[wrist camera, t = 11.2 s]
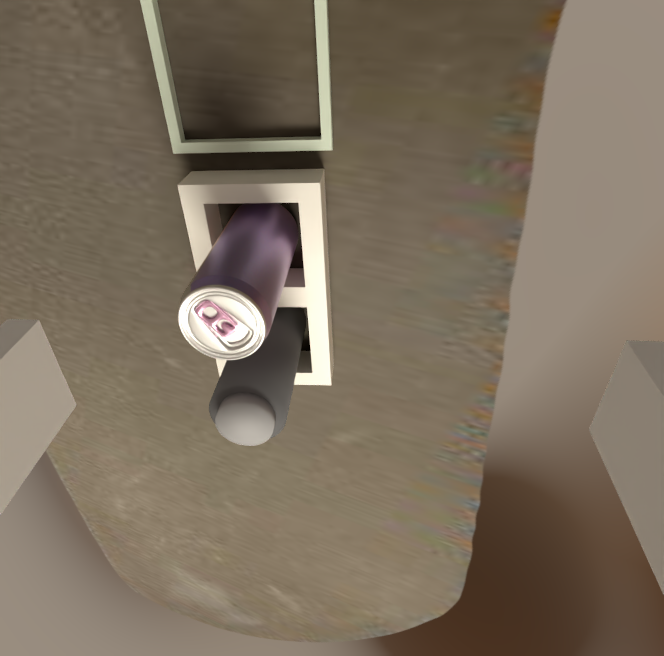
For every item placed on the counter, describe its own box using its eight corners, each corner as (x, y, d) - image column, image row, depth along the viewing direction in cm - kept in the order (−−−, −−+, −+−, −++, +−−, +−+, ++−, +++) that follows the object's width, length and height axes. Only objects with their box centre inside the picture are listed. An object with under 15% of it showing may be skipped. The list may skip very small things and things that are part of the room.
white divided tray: (191, 171, 41) (177, 185, 38) (324, 168, 40) (320, 182, 37) (229, 361, 52) (221, 383, 49) (333, 362, 51) (331, 385, 48)
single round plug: (241, 293, 47) (197, 394, 36) (303, 294, 47) (279, 396, 35) (250, 344, 51) (212, 451, 39) (308, 344, 50) (287, 453, 39)
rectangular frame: (136, -45, 33) (130, -46, 32) (325, -56, 32) (324, -57, 31) (177, 150, 40) (173, 153, 39) (333, 146, 39) (332, 150, 38)
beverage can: (266, 181, 41) (218, 266, 29) (313, 234, 43) (288, 333, 31) (217, 224, 43) (154, 318, 31) (265, 271, 46) (224, 376, 33)
